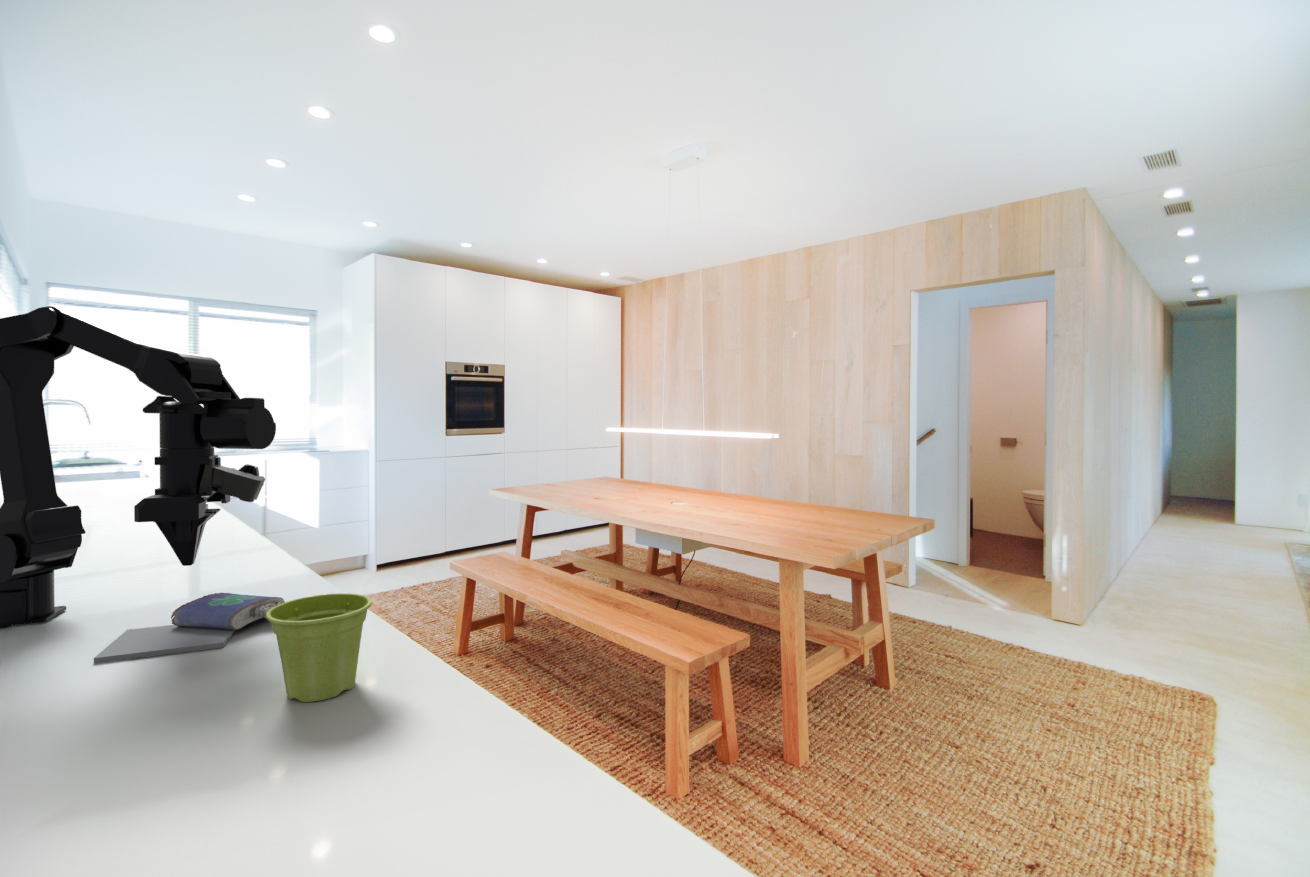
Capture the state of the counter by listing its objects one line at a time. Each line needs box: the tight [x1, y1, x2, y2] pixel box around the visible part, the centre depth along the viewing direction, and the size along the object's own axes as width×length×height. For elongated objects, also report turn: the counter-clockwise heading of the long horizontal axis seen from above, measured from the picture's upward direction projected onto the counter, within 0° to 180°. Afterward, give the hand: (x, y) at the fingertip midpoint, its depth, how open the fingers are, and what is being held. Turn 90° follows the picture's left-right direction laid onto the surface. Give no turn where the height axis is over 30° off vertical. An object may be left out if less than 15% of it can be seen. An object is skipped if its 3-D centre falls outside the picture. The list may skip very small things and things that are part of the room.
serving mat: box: [93, 624, 236, 664], centre depth 74 cm, size 10×12×1 cm
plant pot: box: [266, 592, 372, 703], centre depth 61 cm, size 9×9×9 cm
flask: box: [170, 592, 286, 631], centre depth 80 cm, size 9×3×11 cm
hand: (188, 565), depth 79 cm, fingers closed
